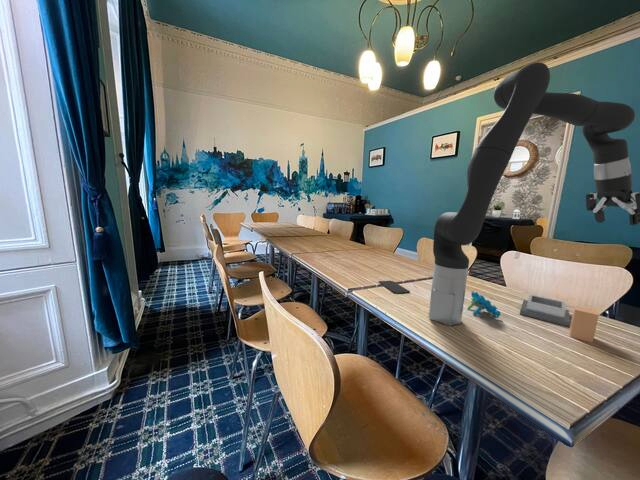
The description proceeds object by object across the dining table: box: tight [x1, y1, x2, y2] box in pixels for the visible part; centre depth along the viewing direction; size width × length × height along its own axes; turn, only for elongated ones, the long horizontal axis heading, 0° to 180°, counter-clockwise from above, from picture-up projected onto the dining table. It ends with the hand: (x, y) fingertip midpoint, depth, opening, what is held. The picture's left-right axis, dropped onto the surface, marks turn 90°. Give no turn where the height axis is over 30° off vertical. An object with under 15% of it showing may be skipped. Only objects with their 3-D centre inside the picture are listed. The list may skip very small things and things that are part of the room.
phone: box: [377, 280, 411, 295], centre depth 107 cm, size 7×1×15 cm
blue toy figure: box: [467, 291, 502, 318], centre depth 83 cm, size 11×6×10 cm
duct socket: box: [519, 294, 571, 328], centre depth 85 cm, size 13×12×4 cm
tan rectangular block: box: [568, 305, 599, 343], centre depth 70 cm, size 4×4×8 cm
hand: (617, 223), depth 82 cm, fingers open, 8 cm apart
